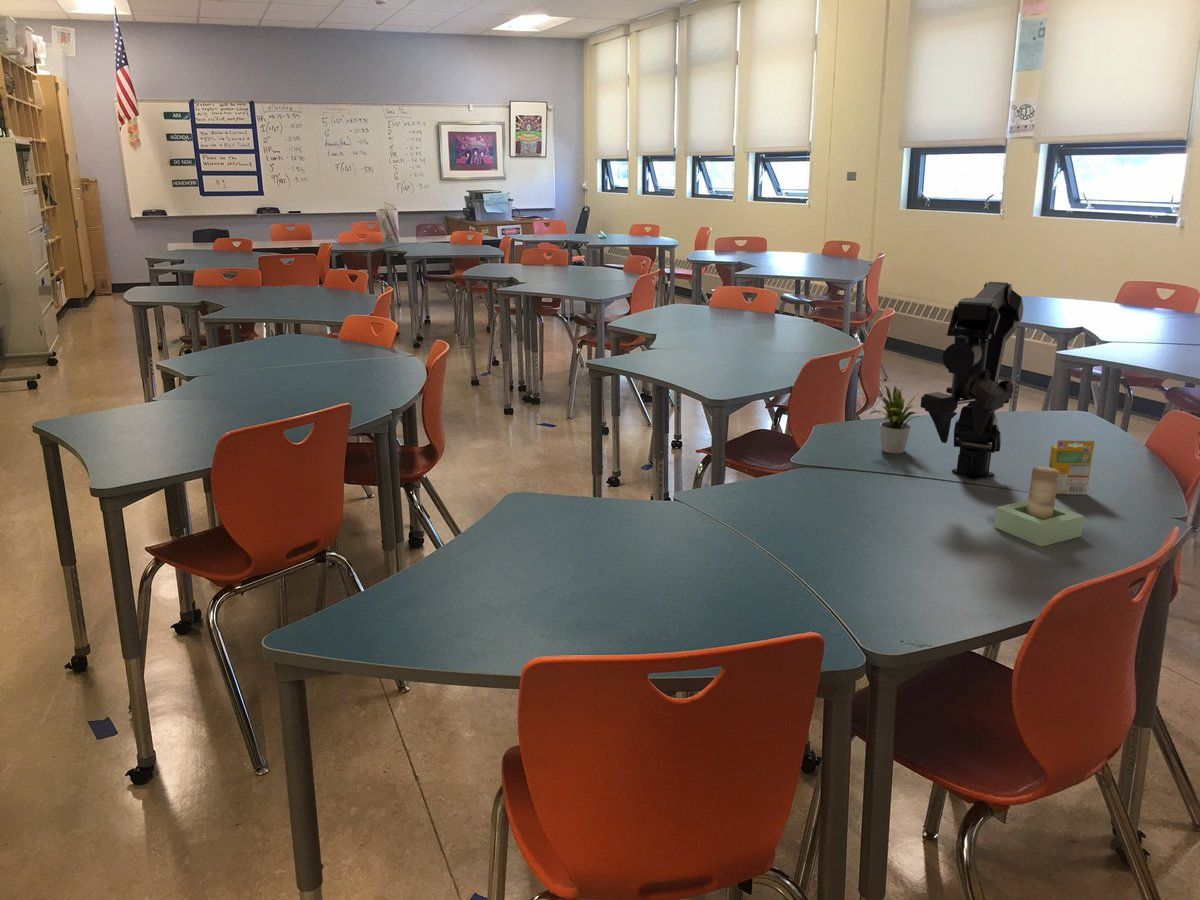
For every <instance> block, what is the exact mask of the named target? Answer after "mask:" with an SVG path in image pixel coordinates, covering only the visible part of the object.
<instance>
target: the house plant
mask: <svg viewBox="0 0 1200 900" xmlns="http://www.w3.org/2000/svg"><path fill="white" fill-rule="evenodd" d="M882 385H883V387H884V388H885V391H886V396H887V398H888V399H887V398H886V397H883V396H882V395H881V394H879V392H877V391H876V390H874V389H870V388H868V390H869V391H870V390H871V391H874V392H876V393H877V394H876V396H877V398H879V400H881V402H882V403H883V406H881V407H882V408H883V409H884V410H885V411H886V412H883V411H882V410H875V408H874V407H872V406H870V408H871V409H873V410H872V411H871V412H869V415H868V416H870V415H872V414H874V413H882V414H884V415H885V416H884V417H885V418H884V420H885V421H883V422H880V423H879V432H880V443H881V445H880V446H881V450H882V451H883V452H885V453H888V454H903V453H904V452H905V450H906V446H907V443H908V438H909V435H910V431H911V427H912V426H911V425H910V424H908V422H909V421H910V420H911V421H912V420H913V419H916V418H921V416H919V415H917V416H913V417H911V418H909V417H910V416H912V415H915V414H918V412H915V411H909V410H910V409H912V408H916V406H912V405H913V403H912V402H913V401H914V399H915V398H916V396H917V395H918V393H919V392H918V393H916V394H915V395H914V396H913V397H912V398H911V400H910V401H909V402H908V403H907V405H906V407H905V406H904V405H905V398H903V395H902V390H903V388H904V387H905V385H903V386H902V387H901V389H899V387H897V385H896V384H895V385H894V387H893V391H892V394H891V391H890V389H889V387H888V386H887V385H886V384H885V383H882ZM872 394H873V395H875V393H873V392H872ZM878 395H880V396H878ZM918 400H921V397H919V398H918V399H916V401H918ZM916 401H915V402H916ZM866 407H868V408H869V406H867V405H866ZM907 419H908V420H907ZM888 420H889V421H888ZM906 420H907V421H906ZM905 421H906V422H905Z"/></svg>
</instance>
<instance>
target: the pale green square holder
mask: <svg viewBox="0 0 1200 900" xmlns="http://www.w3.org/2000/svg"><path fill="white" fill-rule="evenodd" d="M1027 504H1028V499H1027V500H1022V501H1018V502H1014V503H1013V502H1012V503H1009V504H1004V505H1000V506H996V508H995V516H994V523H993V528H995V529H998V530H1000V531H1003V532H1005V533H1007V534H1009V535H1011V536H1015V537H1017V538H1019V539H1022V540H1023V541H1027V542H1028V543H1030V544H1034V545H1035V546H1038V547H1045V546H1049V545H1052V544H1057V543H1061V542H1065V541H1068V540H1071V539H1077V538H1080V537H1081V536H1082V531H1083V526H1084V525H1083V524H1084V520H1085V515H1082V514H1080V513H1077V512H1074V511H1072V510H1068V509H1066V508H1063V507H1060V506H1058V505H1055V504H1054V510H1053V517H1052V518H1049V519H1045V520H1041V519H1038V518H1035V517H1033V516H1030V515H1028V514H1026V511H1027Z"/></svg>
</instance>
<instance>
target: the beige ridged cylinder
mask: <svg viewBox="0 0 1200 900" xmlns="http://www.w3.org/2000/svg"><path fill="white" fill-rule="evenodd" d="M1058 478H1059V471H1058V470H1056V469H1054V468H1050V467H1049V466H1034V467H1033V468H1032V469H1031V477H1030V482H1029V483H1030V484H1029V492H1028V498H1027V500H1028V504H1027V511H1026V514H1028V515H1030V516H1033V517H1035V518H1038V519H1041V520H1045V519H1049V518H1052V517H1053V510H1054V505H1055V503H1056V497H1057V494H1056V491H1057V485H1058Z"/></svg>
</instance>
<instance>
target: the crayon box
mask: <svg viewBox="0 0 1200 900" xmlns="http://www.w3.org/2000/svg"><path fill="white" fill-rule="evenodd" d="M1071 444H1078V445H1071ZM1094 446H1095V440H1057V445H1051V447H1050V455H1049V463H1048V467H1050V468H1054V469H1056V470H1058V471H1059V478H1058V485H1057V491H1056V495H1083V496H1086V495H1087V493H1088V487H1089V480H1090V474H1091V467H1092V458H1093V452H1094Z"/></svg>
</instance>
